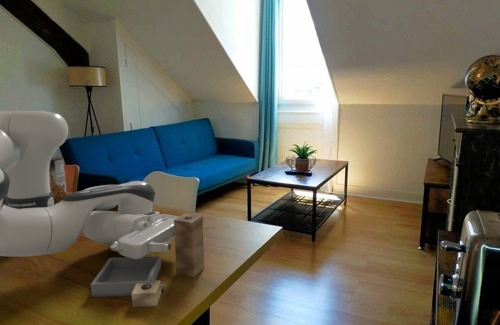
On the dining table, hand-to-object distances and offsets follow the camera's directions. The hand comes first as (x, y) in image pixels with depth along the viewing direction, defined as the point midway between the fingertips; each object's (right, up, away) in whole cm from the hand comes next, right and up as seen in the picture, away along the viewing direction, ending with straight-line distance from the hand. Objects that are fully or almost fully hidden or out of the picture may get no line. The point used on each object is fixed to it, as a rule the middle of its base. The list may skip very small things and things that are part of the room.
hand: (180, 240), depth 87 cm
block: (+2, -8, +1) cm, 8 cm away
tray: (-11, -9, -4) cm, 15 cm away
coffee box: (-71, +5, +71) cm, 101 cm away
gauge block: (-5, -10, -11) cm, 16 cm away
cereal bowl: (-40, +1, +52) cm, 65 cm away
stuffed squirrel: (-60, +1, +51) cm, 78 cm away
